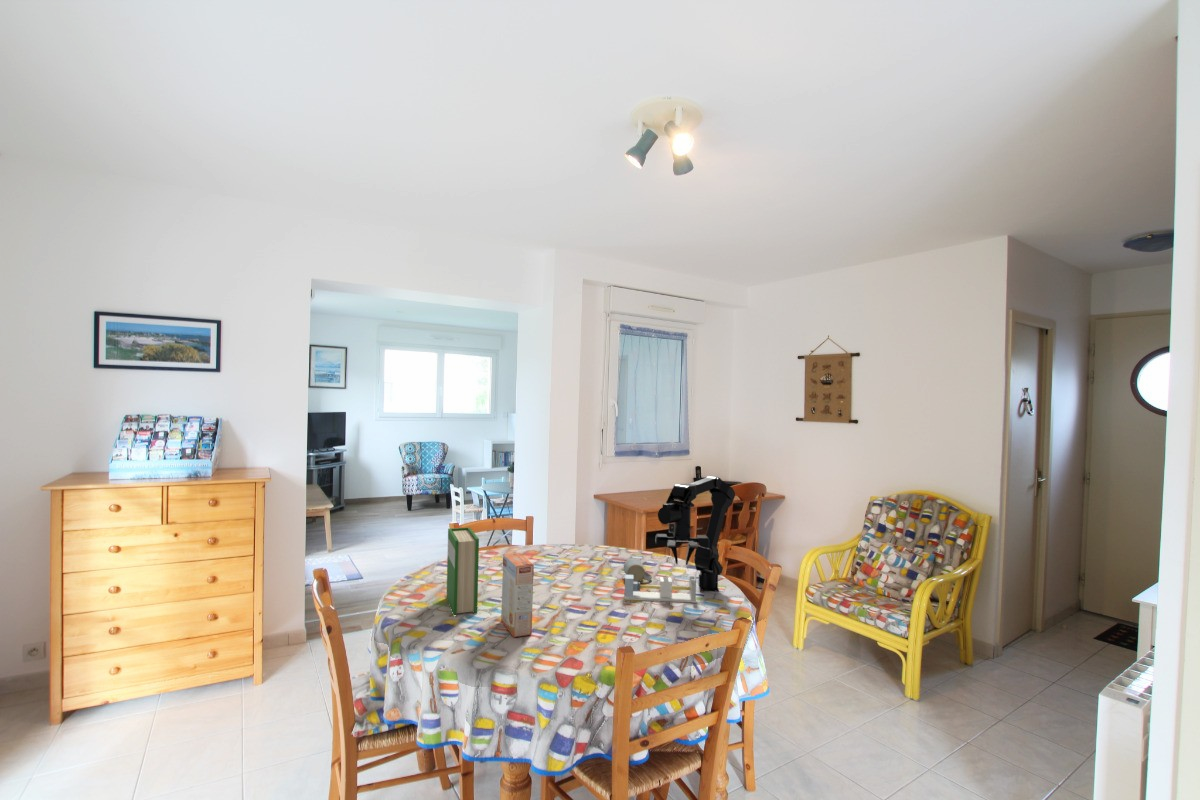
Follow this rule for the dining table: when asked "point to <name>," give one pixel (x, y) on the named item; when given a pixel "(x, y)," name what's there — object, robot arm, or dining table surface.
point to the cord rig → (655, 596)
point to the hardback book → (462, 570)
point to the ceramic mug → (636, 570)
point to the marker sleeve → (665, 587)
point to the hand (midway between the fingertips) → (681, 564)
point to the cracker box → (517, 594)
